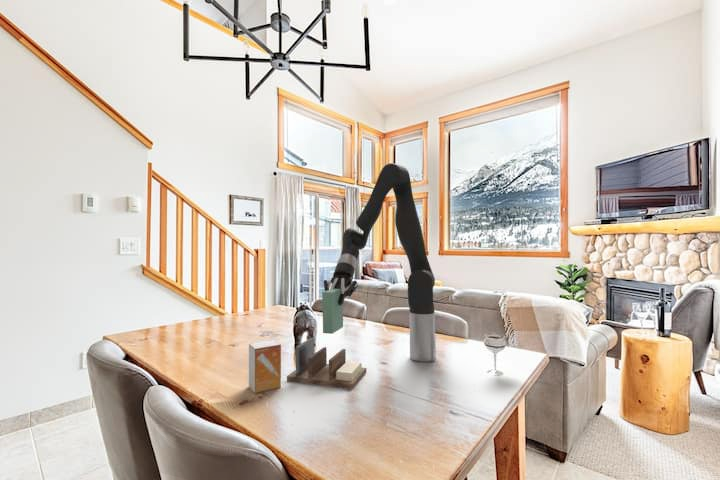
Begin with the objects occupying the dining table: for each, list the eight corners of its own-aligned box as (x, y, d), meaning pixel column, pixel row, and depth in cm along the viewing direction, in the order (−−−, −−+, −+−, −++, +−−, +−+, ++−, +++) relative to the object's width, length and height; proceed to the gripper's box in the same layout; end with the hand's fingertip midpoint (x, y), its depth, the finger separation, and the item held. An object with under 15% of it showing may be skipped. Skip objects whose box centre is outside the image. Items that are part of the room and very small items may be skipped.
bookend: (314, 364, 119) (314, 338, 119) (299, 375, 108) (299, 347, 108) (311, 363, 119) (311, 337, 119) (295, 375, 109) (295, 346, 109)
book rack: (366, 372, 114) (366, 349, 115) (352, 389, 101) (352, 363, 101) (306, 366, 121) (306, 344, 121) (286, 380, 108) (286, 357, 108)
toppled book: (361, 369, 113) (361, 362, 113) (351, 381, 103) (351, 373, 103) (347, 368, 114) (347, 361, 114) (336, 379, 105) (336, 371, 105)
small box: (254, 394, 99) (254, 348, 99) (248, 386, 104) (248, 343, 104) (281, 387, 103) (281, 344, 103) (274, 380, 108) (274, 339, 109)
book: (343, 327, 126) (342, 288, 126) (332, 333, 116) (331, 292, 116) (334, 326, 127) (333, 288, 127) (323, 333, 117) (322, 292, 118)
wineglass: (505, 370, 115) (505, 334, 116) (507, 377, 109) (506, 339, 109) (484, 368, 118) (483, 332, 118) (484, 375, 111) (484, 338, 111)
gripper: (326, 261, 134) (312, 297, 122) (360, 261, 130) (349, 298, 118) (331, 274, 139) (319, 309, 127) (365, 274, 135) (355, 311, 123)
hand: (334, 303), depth 123 cm, fingers closed on book, 3 cm apart
